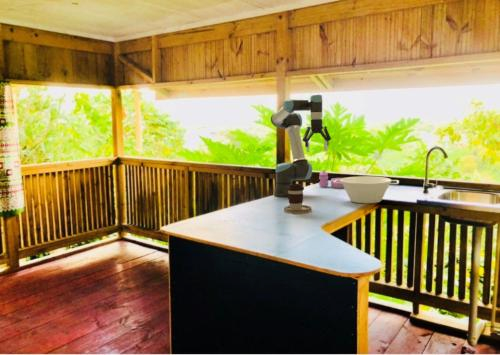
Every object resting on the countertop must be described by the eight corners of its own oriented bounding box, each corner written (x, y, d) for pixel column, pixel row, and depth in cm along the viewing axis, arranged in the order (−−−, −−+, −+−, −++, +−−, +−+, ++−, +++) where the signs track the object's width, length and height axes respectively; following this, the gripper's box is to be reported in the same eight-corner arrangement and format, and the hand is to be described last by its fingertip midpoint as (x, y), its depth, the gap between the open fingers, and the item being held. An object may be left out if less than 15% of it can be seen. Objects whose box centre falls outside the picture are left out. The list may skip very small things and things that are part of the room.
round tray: (279, 209, 244) (279, 206, 243) (303, 206, 249) (303, 203, 249) (291, 214, 228) (291, 211, 228) (316, 211, 234) (316, 208, 234)
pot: (329, 204, 252) (329, 182, 251) (338, 195, 282) (338, 175, 280) (397, 207, 237) (397, 183, 236) (399, 197, 267) (399, 176, 265)
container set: (351, 185, 324) (351, 169, 322) (349, 188, 310) (349, 171, 308) (320, 185, 333) (320, 169, 331) (317, 188, 319) (317, 171, 317)
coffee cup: (303, 211, 233) (303, 185, 231) (286, 211, 235) (285, 185, 233) (304, 207, 242) (304, 183, 240) (288, 207, 244) (288, 183, 242)
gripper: (302, 119, 253) (302, 152, 255) (336, 118, 261) (336, 150, 264) (296, 119, 260) (297, 152, 262) (329, 118, 268) (330, 150, 271)
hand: (317, 151), depth 263 cm, fingers open, 13 cm apart
